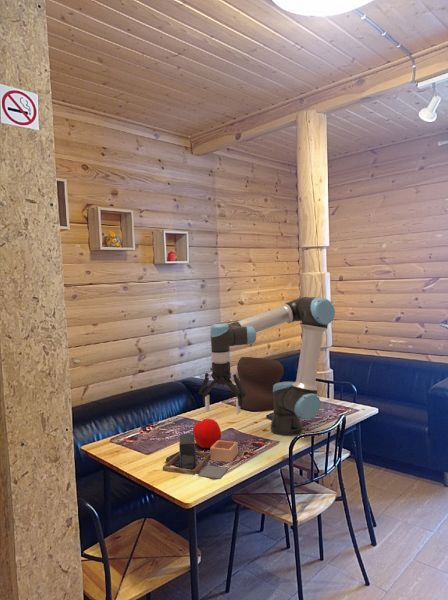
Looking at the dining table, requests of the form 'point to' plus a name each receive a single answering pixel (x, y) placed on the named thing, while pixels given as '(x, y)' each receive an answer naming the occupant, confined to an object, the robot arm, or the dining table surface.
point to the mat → (213, 472)
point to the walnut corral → (186, 471)
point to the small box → (187, 451)
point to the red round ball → (206, 433)
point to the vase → (258, 382)
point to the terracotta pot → (224, 451)
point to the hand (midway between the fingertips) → (222, 412)
